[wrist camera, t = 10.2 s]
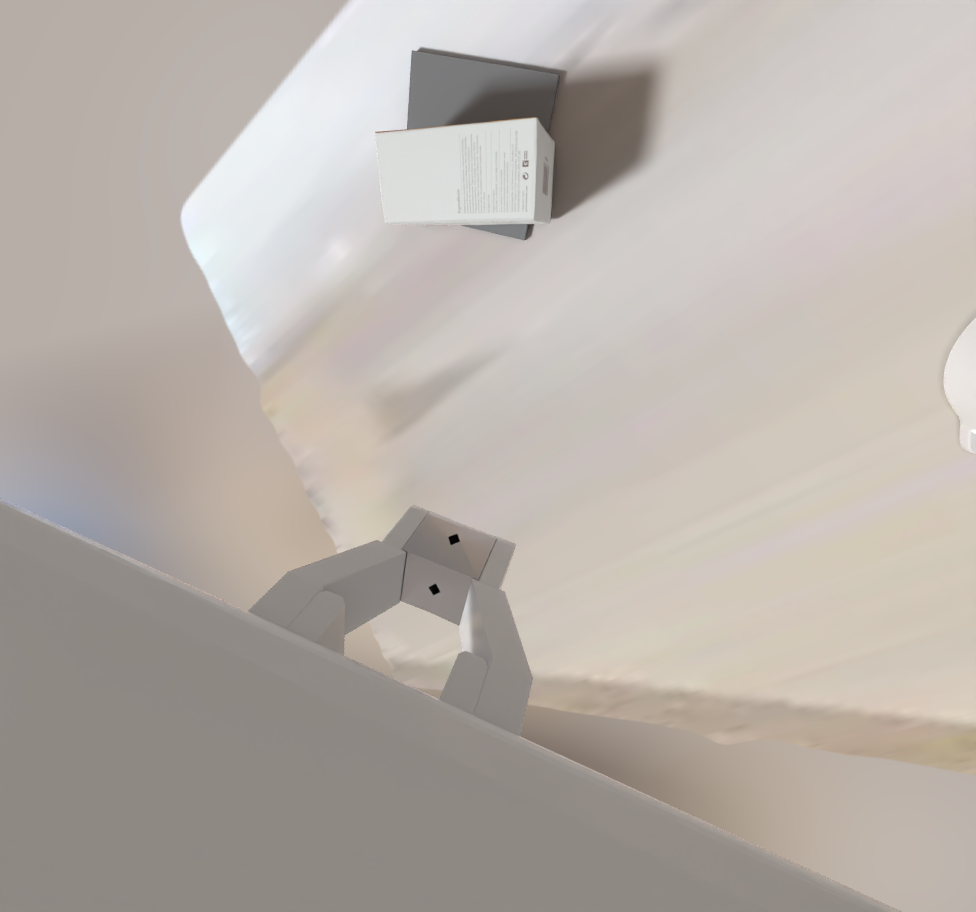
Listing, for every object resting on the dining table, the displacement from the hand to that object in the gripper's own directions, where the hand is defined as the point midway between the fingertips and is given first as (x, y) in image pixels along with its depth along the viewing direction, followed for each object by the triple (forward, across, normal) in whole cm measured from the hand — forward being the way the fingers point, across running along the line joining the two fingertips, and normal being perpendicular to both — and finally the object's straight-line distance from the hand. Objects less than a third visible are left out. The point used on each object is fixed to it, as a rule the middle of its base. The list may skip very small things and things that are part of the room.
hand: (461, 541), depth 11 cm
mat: (+36, +14, -11) cm, 40 cm away
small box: (+31, +6, -10) cm, 33 cm away
